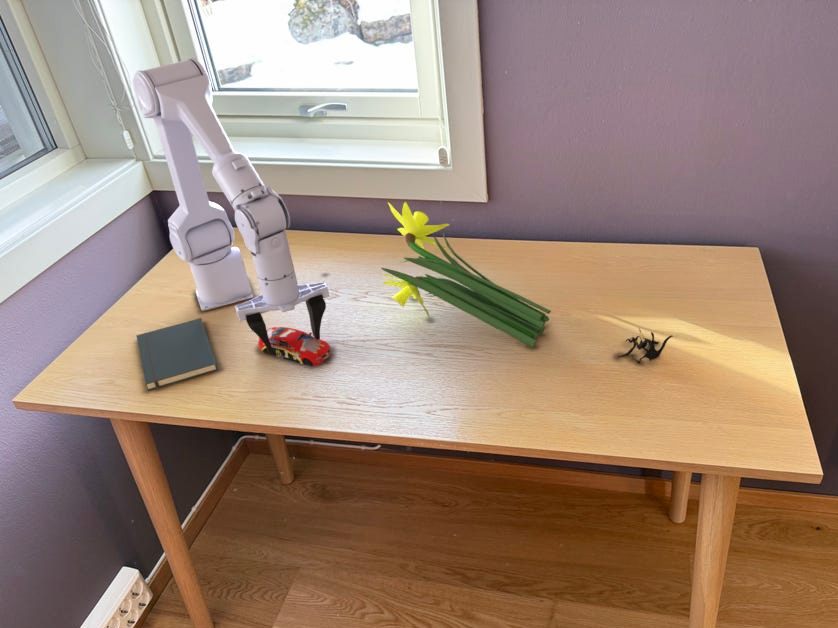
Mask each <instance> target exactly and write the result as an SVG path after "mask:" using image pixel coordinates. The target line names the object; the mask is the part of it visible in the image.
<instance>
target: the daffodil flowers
mask: <svg viewBox="0 0 838 628" xmlns="http://www.w3.org/2000/svg"><path fill="white" fill-rule="evenodd" d="M387 204H388V206H389V209H390V212H391V213H392V215H393V216H394V218H395V219H396V220H397V221H398V222H399V223H400V224H401V225H402V226H403V227H398V228H397V229H396V230H397V231H398V232H399V233H400V234H401V235H402V236H403V237H404V239H405V242H406V244H407V246H408V247H409V248H410V249H411V250H412V251H414V252H415V253H416V254H418V255H420V256H417V257H403V261H399V262H398V263H399V264H400V263H406V262H410V263H412V264H415V265H417V266H419V267H422V268H425V269H428V270H430V271H432V272H435V273H437V274H439V275H442V276H444V277H442V276H441V277H440V276H432V275H430V274H427V273H424V275H425V276H422V275H418V276H412V275H410V274H407V273H404V272H402V271H397V270H394V269H390V268H386V267H381V270H383V271H384V272H385V273H381V272H378V274H379V275H382V276H384V277H385V276H386V277H387V278H391V279H392V280H385V281H383V282H381V284H382V285H385V286H391V287H398V288H401V290H399V291H398V292H396V293H395V294H394V295H392V296H391V298H392V299H393V300H394V301H395V302H396V303H397V304H398V305H400V306H401V307H402V308H405V305H406V304H407V302H408V300H409V299H410V297H411V296H412V298H413V300H416V299H417V301H418V302H419V304H420V305H421V306H422V307H423V309H424V311H425V313H426V315H427V317H428V318H430V314H429V311H428V310H427V308H426V306H425V305H424V299H423V297H422V296H421V293H420V290H419V289H421V290H423V291H424V292H427V293H426V294H424V295H425V296H426V295H429V296H428V298H431V297H437V298H439V299H441V300H443V301H444V302H446V303H448V304H450V305H452V306H453V307H455V308H457V309H459V310H461V311H463V312H465V313H466V314H469V315H470V316H472V317H474V318H477V319H478V320H480V321H482V322H484V323H486V324H487V325H490V326H491V327H493V328H495V329H497V330H499V331H501V332H503V333H504V334H506V335H509V336H510V337H512V338H514V339H516V340H517V341H520V342H522V343H523V344H525V345H527V346H529V347H531V348H534V346H535V344H536V342H537V336H538V335H540V336H541V335H542V334H543V333H544V330H545V329H546V327H545V325H546V323H548V322H549V321H550V317H549V316H548V315H549V314H550V313H551V312H552V310H551V309H549V308H547V307H544V306H542V305H540V304H538V303H536V302H534V301H532V300H530V299H529V298H526V297H524V296H522V295H520V294H517V292H516V293H515V292H513V291H511V290H509V289H506V288H505V287H502V286H500V285H498V284H496V283H494V282H493V281H492V280H490V279H489V278H488V277H486V276H485V275H483V274H482V273H481V272H479V271H478V270H476V269H475V268H474V267H473V266H471V264H469V263H468V262H467V261H465V260H464V259H463V258H462V257H461V256H459V254H457V253H456V252H455V250H454V249H453V247H451V245H450V243H449V241H448V238H447V237H446V235H445V232H444V231H443V229H445V228H447V227H449V226H450V223H441V224H427V223H428V222H429V220H430V219H429V217H428V214H426V212H423V211H420V210H418V211H417V210H416V211H415V212H414V213H412V210H411V208H410V207H409V205H408V203H407V202H406V201H404V203H403V206H402V208H401V210H402V211H401V214H400V213H399V212H398V210H396V209H395V207H394V206H393V205H392V204H391V203H389V202H387ZM439 231H441V233H442V236H443V239H444V242H445V244H446V246H447V247H446V246H445V245H444V246H443V245H442V244H441V243H440V241H439V240H438V239H437V238H436V236H435V234H433V233H436V232H439ZM428 235H432V237H433V239H434V240H433V239H431V238H430V237H428ZM424 243H427V244H430V245H433V246H436V247H438V248H439V250H440V251H441V253H442V256H444V257H445V258H446V260H445V259H443V258H441V257H439V256H437V255H435V254H434V253H431V252H430V251H428V250H426V249H425V247H424ZM445 249H449V251H450V252H451V254H452V255H453V256H454V257H452V256H451V255H450V254H449V253H448V252H447V251H446V250H445ZM458 260H459V261H460V262H461V263H462V264H463V265H465V266H466V267H467V268H469V269H470V270H471V271H472V272H471V271H470V270H468V269H466V268H465V267H464V266H463V265H462V264H460V263H459V261H458ZM387 273H388V274H387ZM474 273H475V274H474ZM445 277H446V278H445ZM393 279H394V280H396V281H394V280H393ZM546 314H547V315H546Z"/></svg>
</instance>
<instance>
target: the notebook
mask: <svg viewBox="0 0 838 628" xmlns="http://www.w3.org/2000/svg"><path fill="white" fill-rule="evenodd" d="M136 341H137V346H138V351H139V357H140V362H141V367H142V372H143V377H144V383H145V385H146V386H147V392H149V391H152V390H156V389H160V388H163V387H167V386H169V385H173V384H177V383H180V382H184V381H187V380H190V379H194V378H197V377H201V376H203V375H207V374H210V373H214V372H218V371H219V368H218V364H217V361H216V359H215V355H214V353H213V350H212V346H211V343H210V341H209V337H208V334H207V331H206V328H205V325H204V322H203V319H202V317H198V318H195V319H193V320H192V319H191V320H189V321H184V322H181V323H177V324H173V325H170V326H169V325H168V326H166V327H162V328H159V329H155V330H151V331H148V332H143V333H140V334H137V335H136Z"/></svg>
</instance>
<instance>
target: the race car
mask: <svg viewBox="0 0 838 628" xmlns="http://www.w3.org/2000/svg"><path fill="white" fill-rule="evenodd" d="M266 330H267V334H268V338H269V341H270V344H271V346H272V349H273V353H272V354H269V353H268V350H267V348H266V346H265V344H264V343H263V341H262V340H261V339H260V338H259V337H258V347H259V350H260V351H261V352H262V354H266V355H269V356H272V357H275V358H278V359H281V360H286V361H289V362H292V363H296V364H300V365H306V366H310V367H316V366H320V365H322V364H324V363H326V362H328V360H329V359H330V358H331V357H332V348H331V345H330V344H329V342H327V341H325V340H323V339H321V338H320V339H316V338H315V337H314V335H313V333H312V332H309V333H307V332H305V331H303V330H299V329H297V328H292V327H286V326H285V327H284V326H279V327H278V326H273V327H271V328H270V327H269V328H267V329H266Z"/></svg>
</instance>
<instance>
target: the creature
mask: <svg viewBox="0 0 838 628" xmlns="http://www.w3.org/2000/svg"><path fill="white" fill-rule="evenodd" d="M638 331H639V333H640V334H639V335H637V336H636V337H634V336H632V337H631V338H626V340H625V342H627V341H628V342H629V344H632V343H633V345H632V347H631V348H630V349H629V351H628V352H627V353H624V354H619V355H618V358H624V357H632V359H633V361H636V363H638V364H641V361H642V360H643V359H644V358H646V359H648V360H649V361H653V360H655V359H657V358H659V357H660V355H661V354H662V352H663V350H664V349H665V347H666V344H667V342H668V341H669V340H670V339H671V338H672V337H674V335H669V336H668V337H666V338H665V339H664V340H663V341H662V344H661V347H660V348H659V349H658V350H656V345H658V344H660V341H656V340H655V334H654V332H652V331H651V332H650V334H651V337H652V338H651V339H649V338H646V337H644V336H643V333H642V332H641V329H640V328H638ZM639 338H640V340H639ZM642 339H643V340H642ZM638 340H639V341H640V342H638ZM635 348H637V349H638V350H643V351H645V352H646V353H644V354H643V356H641V357H640V358H639V360H638V359H635V358H634V356H635V355H634V354H632V353H633V351H634V350H635Z"/></svg>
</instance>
